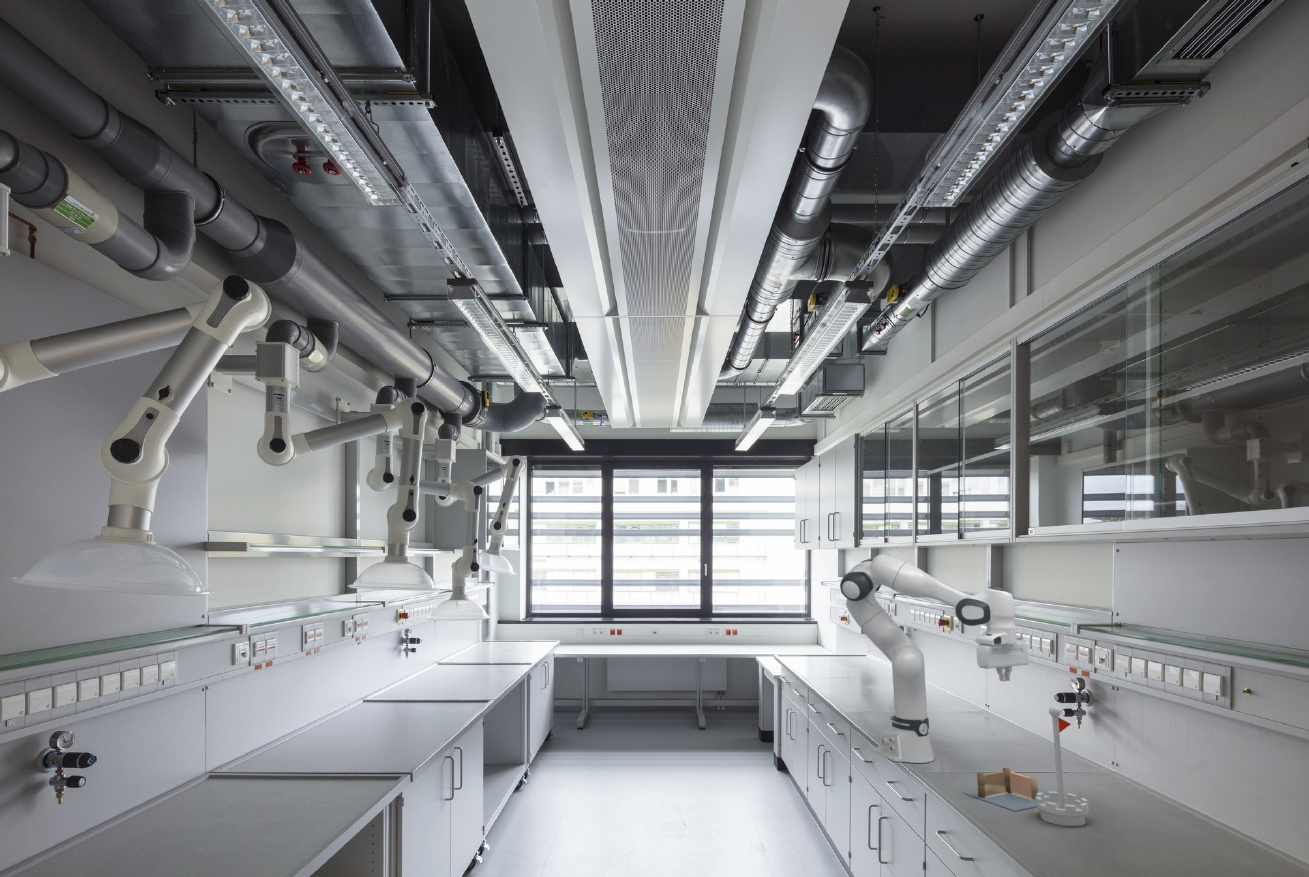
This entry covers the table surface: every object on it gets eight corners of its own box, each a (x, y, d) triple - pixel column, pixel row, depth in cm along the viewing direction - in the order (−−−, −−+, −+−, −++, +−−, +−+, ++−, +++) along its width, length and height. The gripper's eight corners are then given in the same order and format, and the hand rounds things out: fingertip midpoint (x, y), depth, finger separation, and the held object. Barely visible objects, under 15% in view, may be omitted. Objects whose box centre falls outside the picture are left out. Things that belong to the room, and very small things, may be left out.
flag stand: (1061, 829, 208) (1052, 712, 212) (1026, 813, 221) (1018, 703, 225) (1101, 824, 212) (1091, 709, 216) (1064, 809, 224) (1056, 700, 228)
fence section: (1014, 790, 238) (1012, 770, 239) (1039, 798, 230) (1038, 777, 231) (1009, 791, 237) (1008, 770, 238) (1035, 799, 230) (1034, 778, 230)
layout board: (962, 792, 239) (962, 791, 239) (1016, 782, 249) (1016, 781, 249) (1015, 811, 222) (1015, 810, 222) (1070, 799, 232) (1070, 798, 232)
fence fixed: (976, 795, 235) (975, 772, 236) (1007, 789, 241) (1005, 767, 242) (982, 797, 233) (981, 774, 234) (1013, 791, 239) (1011, 769, 240)
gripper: (1016, 634, 264) (1019, 676, 262) (972, 637, 256) (974, 681, 254) (1032, 636, 259) (1035, 679, 257) (987, 639, 250) (990, 684, 248)
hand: (1004, 680), depth 255 cm, fingers closed
